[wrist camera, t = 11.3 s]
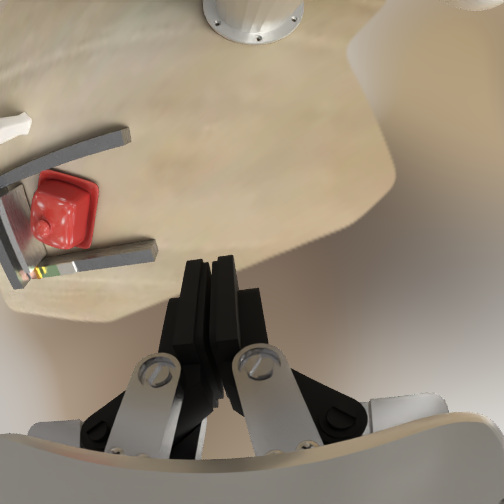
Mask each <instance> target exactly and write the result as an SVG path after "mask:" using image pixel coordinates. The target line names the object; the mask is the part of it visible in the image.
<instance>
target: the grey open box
mask: <svg viewBox="0 0 504 504" xmlns="http://www.w3.org/2000/svg"><path fill="white" fill-rule="evenodd" d="M129 142H131V136H130V131H129V128H125V129H121V130H118V131H114V132H111V133H107V134H104V135H101V136H98V137H94V138H91V139H88V140H85V141H82V142H79V143H76V144H74V145H71V146H68V147H65V148H62V149H60V150H57V151H55V152H52V153H49V154H47V155H45V156H42V157H40V158H37V159H35V160H33V161H30V162H28V163H26V164H23V165H21V166H19V167H17V168H15V169H13V170H11V171H8V172H6V173H4V174H2V175H0V197H1V196H2V195H4V194H6V193H7V192H9V191H8V188H7V186H8V185H10V184H12V183H15V182H17V181H19V180H22V179H24V178H27V177H29V176H31V175H34V174H37V173H39V172H42V171H44V170H47V169H50V168H52V167H55V166H58V165H61V164H64V163H66V162H69V161H72V160H75V159H78V158H82V157H85V156H88V155H91V154H94V153H98V152H101V151H105V150H108V149H112V148H115V147H119V146H123V145H126V144H127V143H129ZM157 253H158V248H157V245H156V241H155V240H148V241H142V242H136V243H129V244H123V245H117V246H111V247H105V248H99V249H93V250H87V251H82V252H76V253H70V254H65V255H59V256H53V257H48V258H43V259H42V260H41V261H40V262H39V263H38V265H37V266H38V268H39V271H40V273H41V275H42V278H44V277H51V276H58V275H66V274H73V273H77V272H81V271H88V270H95V269H102V268H110V267H117V266H124V265H132V264H139V263H147V262H154V261H155V259H156V256H157ZM0 263H1V265H2V267H3V269H4V271H5V273H6V275H7V277H8V279H9V281H10V283H11V285H12V287H13V289H22V288H24V287H25V286H26V285H27V283H28V282H29V281H30V279H31V278H32V279H37V276H36V274H35V272H34V270H33V271H32V272H31V273H26V274H25V273H24V271H23V269H22V267H21V265H20V263H19V260H18V258H17V256H16V254H15V251H14V249H13V247H12V244H11V242H10V240H9V237H8V235H7V232H6V230H5V227H4V224H3V222H2V219H1V216H0Z"/></svg>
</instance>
